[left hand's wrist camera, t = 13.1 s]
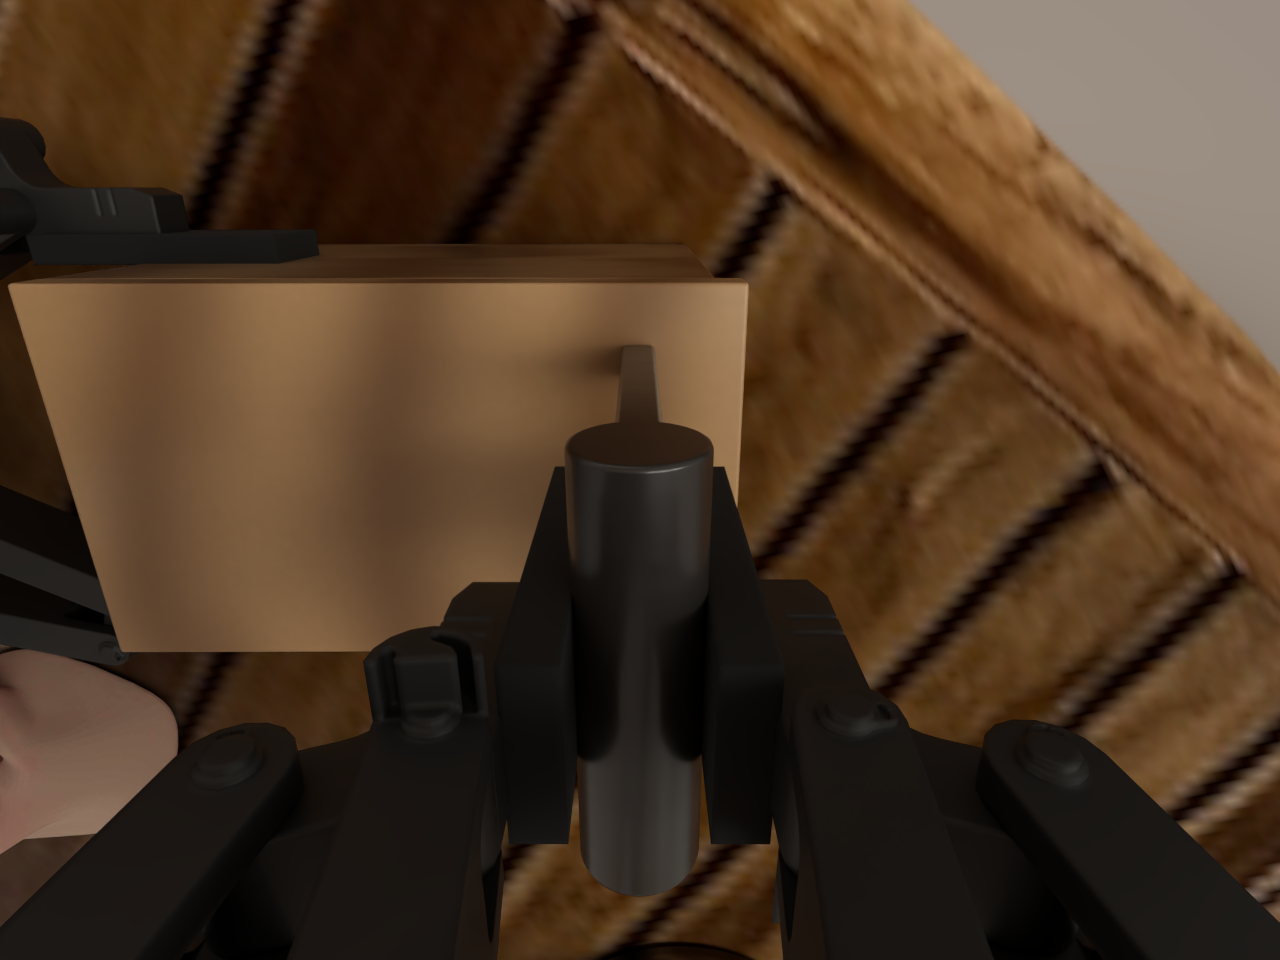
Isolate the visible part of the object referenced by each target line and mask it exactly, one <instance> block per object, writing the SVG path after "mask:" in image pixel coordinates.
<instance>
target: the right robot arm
mask: <svg viewBox="0 0 1280 960" xmlns="http://www.w3.org/2000/svg"><path fill="white" fill-rule="evenodd" d="M45 149H46V146H45V143H44V140H43V137H42V135H41V134H40V133H39V131H38V130H37V129H36V128H35V127H34V126H33V125H31V124H30V123H28V122H26V121H23V120H19V119H10V118H2V117H0V280H2V279H3V278H5V277H6V276H8V275H9V274H11V273H12V272H14V271H16V270H17V269H19V268H20V267H22V266H23V265H25V264H26V263H28V262H30V261H31V260H33V262H34V265H137V264H279V263H284V262H289V261H294V260H299V259H304V258H309V257H314V256H318V255H320V254H319V248H318V242H317V235H316V230H189V225H188V220H187V216H186V211H185V207H184V202H183V197H182V195H180V194H177V193H175V192H172V191H170V190H167V189H164V188H77V187H72V186H69V185H67V184H65V183H63V182H62V181H60V180H59V179H58V178H57V177H56V176H55V175H54V174H53V173H52V172H51V170H50V169H49V168H48V166H47V164H46V163H45V161H44V159H43V158H44V156H45ZM0 644H2V645H7V646H12V647H18V648H23V649H28V650H33V651H39V652H44V653H49V654H54V655H60V656H65V657H70V658H76V659H81V660H86V661H91V662H97V663H102V664H107V665H121V664H124V663H125V662H126V661H127V660H128V659H129V658H130V657H132V656H133V655H134V654H135V653H136V652H122V651H121V649H120V646H119V643H118V640H117V637H116V633H115V630H114V627H113V624H112V620H111V617H110V614H109V611H108V608H107V604H106V601H105V598H104V595H103V592H102V588H101V585H100V582H99V579H98V575H97V572H96V569H95V566H94V563H93V559H92V556H91V553H90V550H89V547H88V543H87V540H86V537H85V534H84V530H83V527H82V524H81V521H80V518H79V517H76V516H74V515H71V514H69V513H66V512H64V511H62V510H59V509H57V508H54V507H52V506H49V505H47V504H44V503H42V502H40V501H37V500H35V499H32V498H30V497H27V496H25V495H23V494H20V493H18V492H15V491H13V490H10V489H8V488H5V487H3V486H1V485H0Z"/></svg>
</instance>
